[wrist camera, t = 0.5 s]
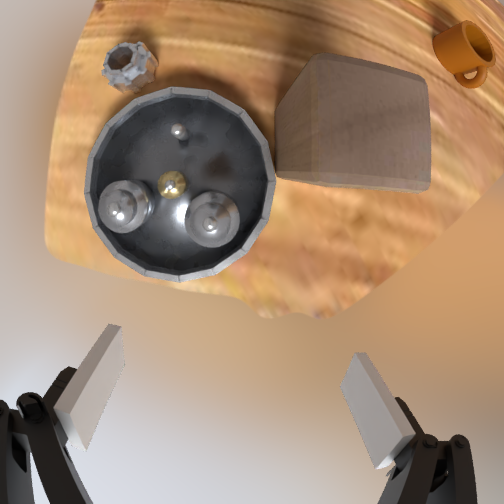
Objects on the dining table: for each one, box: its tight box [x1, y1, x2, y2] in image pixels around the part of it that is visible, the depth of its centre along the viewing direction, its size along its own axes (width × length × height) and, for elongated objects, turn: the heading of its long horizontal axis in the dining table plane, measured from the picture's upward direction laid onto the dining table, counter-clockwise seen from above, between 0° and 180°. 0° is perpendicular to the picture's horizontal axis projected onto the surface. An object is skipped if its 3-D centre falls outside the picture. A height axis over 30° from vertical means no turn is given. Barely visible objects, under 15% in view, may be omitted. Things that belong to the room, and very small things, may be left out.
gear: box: [102, 41, 158, 93], centre depth 28 cm, size 7×7×6 cm
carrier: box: [84, 87, 276, 282], centre depth 32 cm, size 25×25×8 cm
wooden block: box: [275, 53, 431, 194], centre depth 26 cm, size 10×10×20 cm
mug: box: [433, 20, 496, 88], centre depth 27 cm, size 9×12×9 cm
